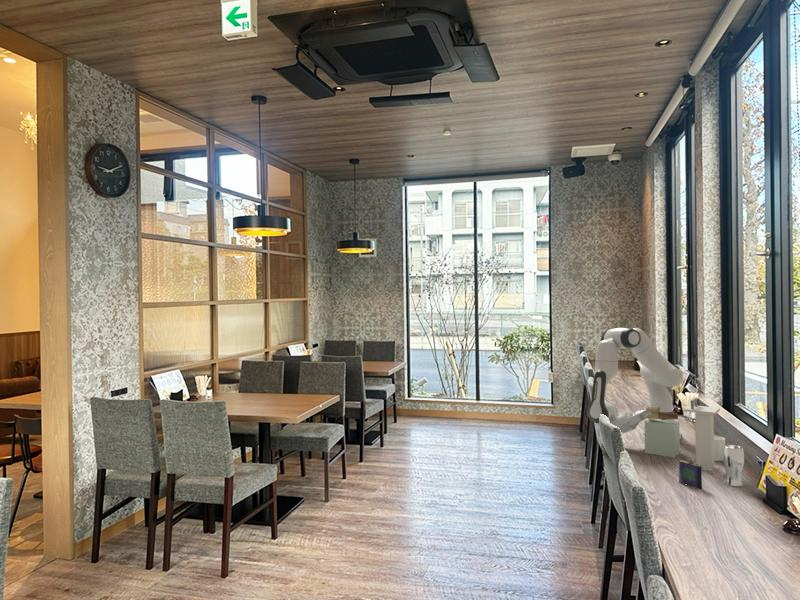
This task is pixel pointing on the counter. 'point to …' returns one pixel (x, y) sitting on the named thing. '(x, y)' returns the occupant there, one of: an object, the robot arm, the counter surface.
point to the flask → (690, 473)
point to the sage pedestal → (662, 437)
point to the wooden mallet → (660, 414)
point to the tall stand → (704, 433)
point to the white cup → (718, 448)
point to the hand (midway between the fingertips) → (653, 411)
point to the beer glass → (733, 464)
